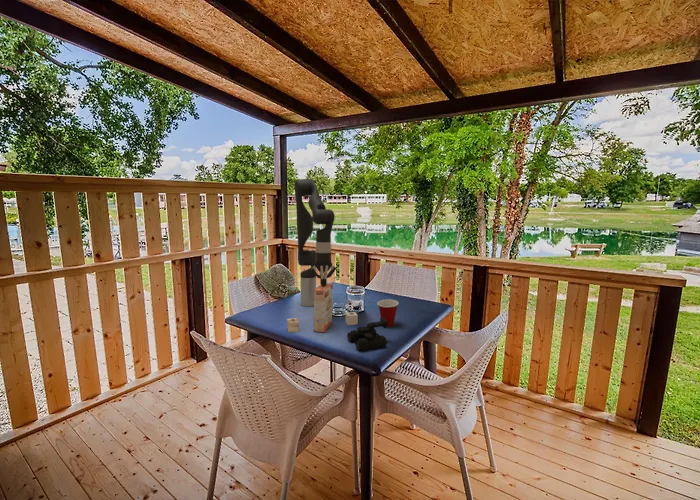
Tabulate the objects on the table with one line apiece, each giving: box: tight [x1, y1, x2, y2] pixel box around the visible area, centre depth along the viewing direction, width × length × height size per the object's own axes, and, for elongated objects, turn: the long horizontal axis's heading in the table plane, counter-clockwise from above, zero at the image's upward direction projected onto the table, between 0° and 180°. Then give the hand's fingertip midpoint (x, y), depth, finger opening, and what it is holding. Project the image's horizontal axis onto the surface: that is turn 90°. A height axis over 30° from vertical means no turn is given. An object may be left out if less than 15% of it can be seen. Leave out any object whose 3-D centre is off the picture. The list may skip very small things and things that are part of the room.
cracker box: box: [313, 282, 334, 333], centre depth 160 cm, size 14×6×21 cm, turn 169°
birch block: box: [286, 317, 300, 333], centre depth 157 cm, size 5×5×5 cm
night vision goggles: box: [346, 317, 388, 352], centre depth 143 cm, size 14×16×10 cm
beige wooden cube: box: [345, 311, 359, 326], centre depth 167 cm, size 5×5×5 cm
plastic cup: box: [377, 299, 399, 328], centre depth 164 cm, size 11×11×12 cm
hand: (323, 286), depth 158 cm, fingers closed
